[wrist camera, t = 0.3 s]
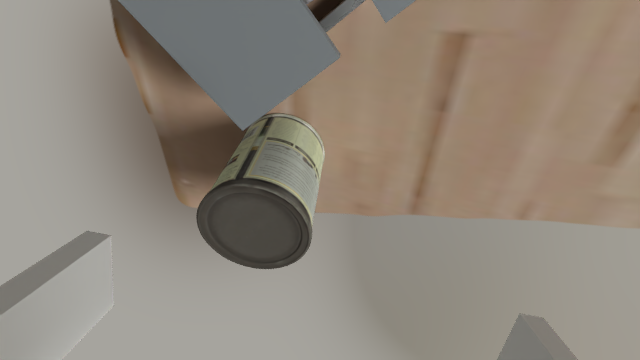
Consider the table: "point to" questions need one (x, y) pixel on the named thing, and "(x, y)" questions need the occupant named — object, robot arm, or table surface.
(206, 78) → the gray split-top stand
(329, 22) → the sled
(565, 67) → the table surface
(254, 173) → the coffee can
